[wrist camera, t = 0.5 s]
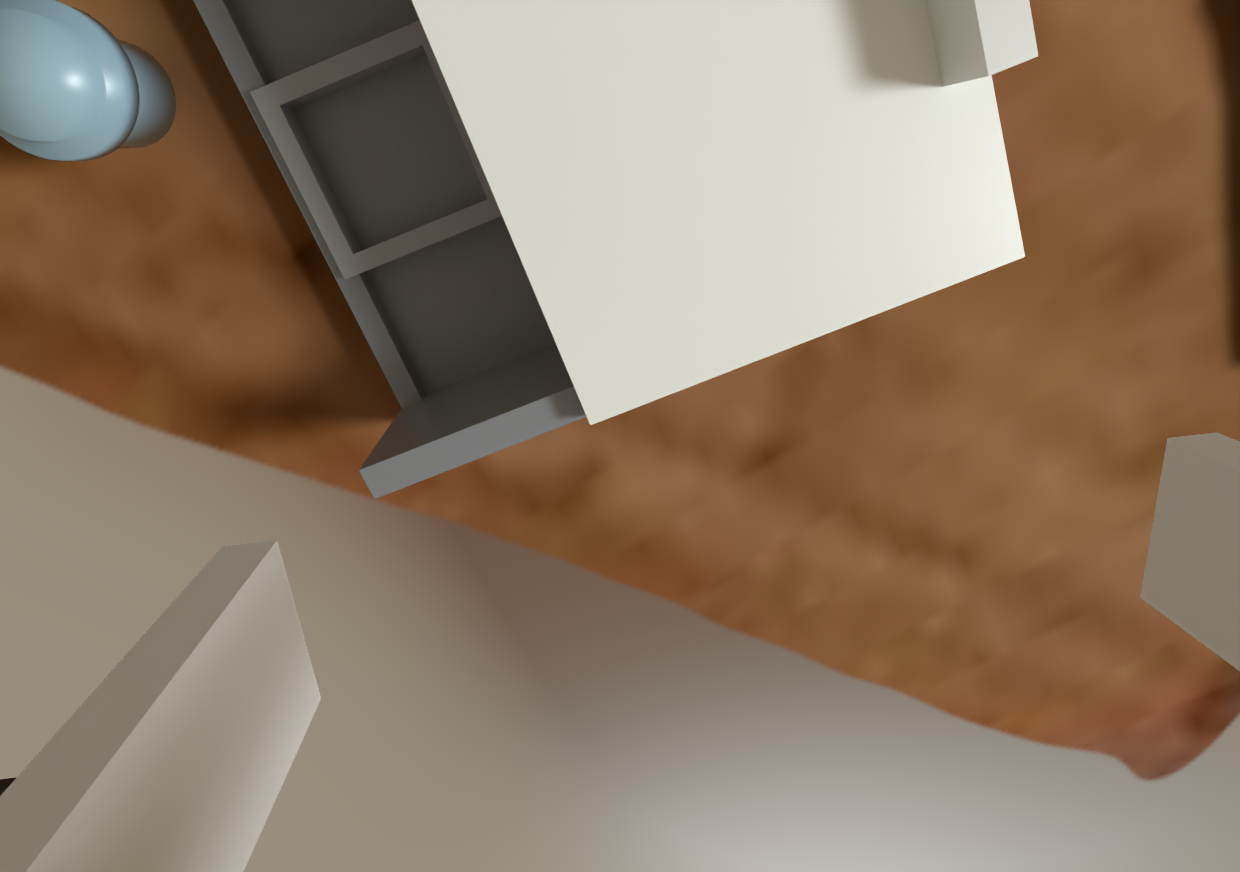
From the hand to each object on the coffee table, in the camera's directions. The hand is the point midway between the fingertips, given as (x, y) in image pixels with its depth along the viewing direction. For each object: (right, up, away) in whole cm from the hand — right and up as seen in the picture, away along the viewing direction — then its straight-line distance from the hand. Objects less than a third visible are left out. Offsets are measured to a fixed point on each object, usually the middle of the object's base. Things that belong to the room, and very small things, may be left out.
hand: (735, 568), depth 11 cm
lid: (0, +15, +11) cm, 19 cm away
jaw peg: (-22, +16, +19) cm, 33 cm away
